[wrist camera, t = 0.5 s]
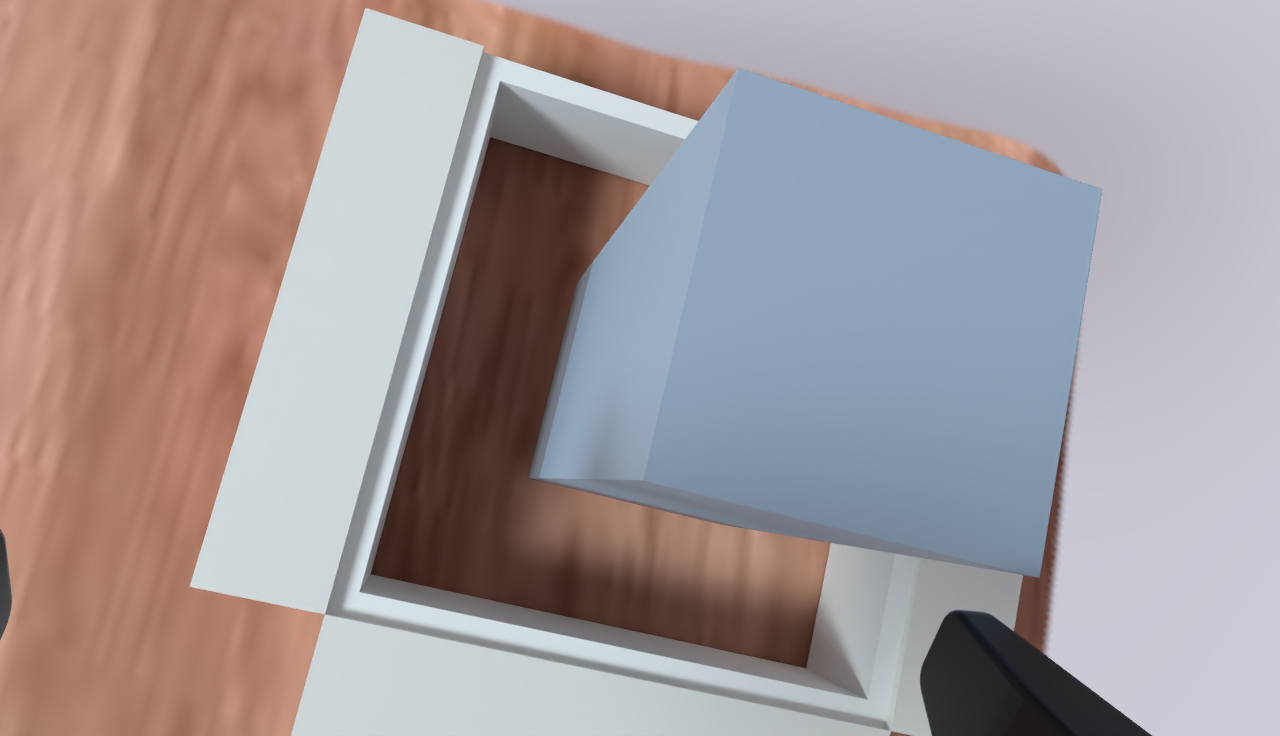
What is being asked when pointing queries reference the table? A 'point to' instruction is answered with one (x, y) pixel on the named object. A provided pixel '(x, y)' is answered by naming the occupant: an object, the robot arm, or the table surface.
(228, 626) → the table surface
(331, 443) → the carton
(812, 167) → the box
